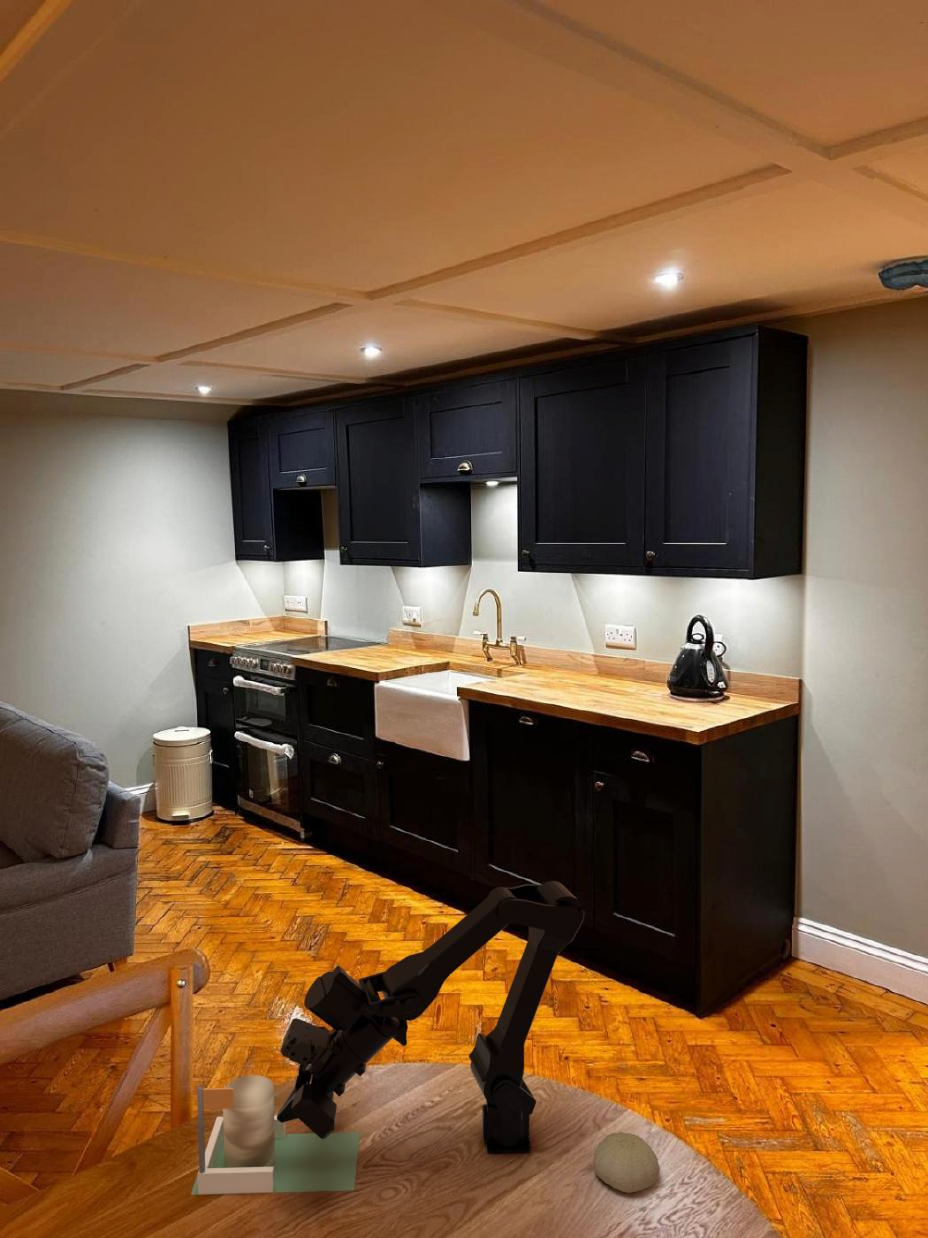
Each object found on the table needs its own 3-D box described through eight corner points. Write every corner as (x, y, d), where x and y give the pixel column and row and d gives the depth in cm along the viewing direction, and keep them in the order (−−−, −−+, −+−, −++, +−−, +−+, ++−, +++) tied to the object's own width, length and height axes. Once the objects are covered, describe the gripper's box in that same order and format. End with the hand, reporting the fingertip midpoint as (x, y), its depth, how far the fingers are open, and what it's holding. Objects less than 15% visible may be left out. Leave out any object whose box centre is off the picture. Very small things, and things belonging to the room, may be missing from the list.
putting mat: (359, 1138, 138) (359, 1132, 138) (354, 1197, 126) (354, 1190, 126) (210, 1142, 137) (210, 1136, 137) (190, 1201, 125) (190, 1194, 125)
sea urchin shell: (654, 1138, 136) (660, 1127, 130) (657, 1201, 131) (663, 1193, 125) (591, 1134, 137) (594, 1123, 130) (592, 1196, 132) (595, 1188, 126)
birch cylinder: (278, 1145, 135) (277, 1074, 134) (270, 1179, 128) (269, 1105, 127) (229, 1147, 135) (228, 1076, 133) (219, 1181, 128) (217, 1106, 126)
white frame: (285, 1134, 137) (284, 1038, 136) (272, 1192, 126) (270, 1088, 124) (217, 1135, 137) (215, 1040, 135) (198, 1194, 125) (195, 1090, 123)
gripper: (322, 973, 139) (249, 1045, 139) (307, 1043, 120) (223, 1125, 121) (375, 1022, 140) (303, 1092, 140) (368, 1099, 121) (285, 1180, 122)
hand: (279, 1119), depth 131 cm, fingers closed
